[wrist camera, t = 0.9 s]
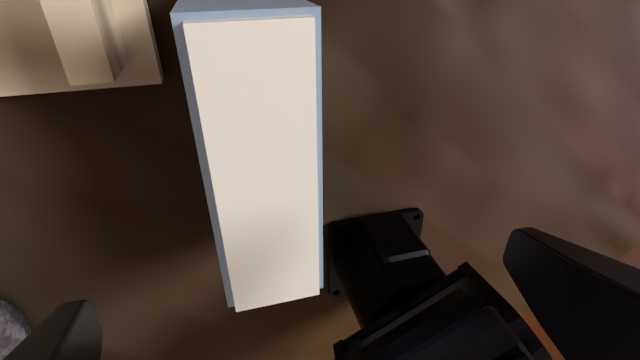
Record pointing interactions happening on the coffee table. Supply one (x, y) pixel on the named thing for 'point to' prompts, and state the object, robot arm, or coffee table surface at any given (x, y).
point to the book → (258, 140)
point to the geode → (11, 327)
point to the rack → (76, 46)
